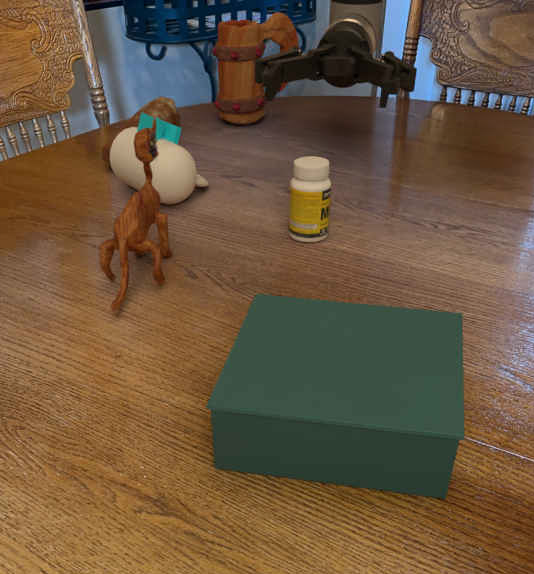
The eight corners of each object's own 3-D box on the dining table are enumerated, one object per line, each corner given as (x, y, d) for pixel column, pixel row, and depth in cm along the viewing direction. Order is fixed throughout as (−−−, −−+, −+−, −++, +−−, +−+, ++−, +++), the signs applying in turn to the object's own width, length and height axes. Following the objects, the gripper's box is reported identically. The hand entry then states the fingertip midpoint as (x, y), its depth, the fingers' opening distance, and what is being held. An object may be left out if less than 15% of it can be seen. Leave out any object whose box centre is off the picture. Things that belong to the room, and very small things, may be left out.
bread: (183, 135, 112) (181, 97, 108) (129, 175, 99) (123, 133, 95) (148, 131, 113) (144, 93, 110) (89, 170, 100) (82, 128, 96)
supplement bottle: (325, 245, 81) (330, 170, 76) (285, 242, 82) (287, 167, 76) (330, 228, 85) (334, 155, 79) (292, 225, 85) (293, 153, 80)
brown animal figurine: (147, 324, 68) (128, 180, 59) (82, 320, 69) (53, 176, 59) (187, 246, 81) (177, 118, 72) (132, 243, 82) (115, 116, 73)
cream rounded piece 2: (170, 126, 82) (119, 104, 89) (151, 205, 86) (104, 178, 93) (244, 150, 90) (192, 128, 97) (224, 220, 94) (176, 195, 101)
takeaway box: (450, 374, 61) (463, 313, 57) (449, 501, 50) (465, 436, 45) (255, 353, 64) (255, 293, 60) (210, 470, 52) (205, 404, 48)
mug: (223, 131, 114) (218, 22, 104) (207, 117, 119) (201, 13, 109) (305, 121, 118) (308, 16, 108) (286, 108, 123) (287, 7, 113)
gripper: (432, 86, 98) (428, 133, 82) (258, 77, 101) (223, 120, 86) (441, 23, 93) (439, 60, 77) (258, 16, 96) (220, 50, 81)
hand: (325, 92), depth 82 cm, fingers open, 13 cm apart
